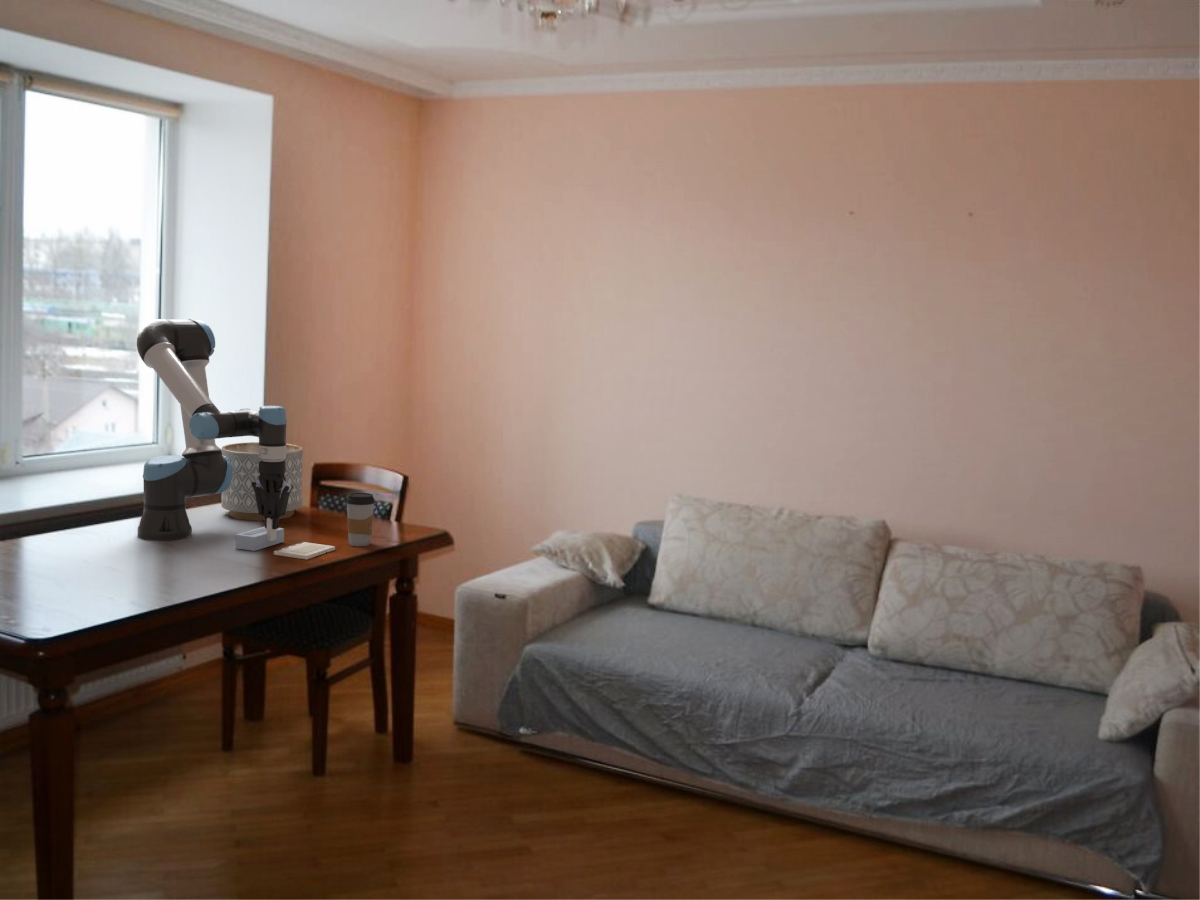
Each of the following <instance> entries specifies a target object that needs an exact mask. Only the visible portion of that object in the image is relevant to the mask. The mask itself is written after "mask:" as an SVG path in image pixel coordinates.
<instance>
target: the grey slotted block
mask: <svg viewBox="0 0 1200 900" xmlns="http://www.w3.org/2000/svg"><path fill="white" fill-rule="evenodd" d="M284 542H285V528H284V527H283V528H282V527H279V528H278V529H277V539H276V540H273V541H267V528H265V525H264V526H261V527H258V528H253V529H250V530H248V531H247V530H246V531H244V532H243V531H242V532H240V533H236V534H235V549H239V550H246V551H252V552H257V551H258V550H262V549H265V548H267V547H272V546H274V545H277V544H280V543H281V544H282V543H284Z"/></svg>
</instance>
